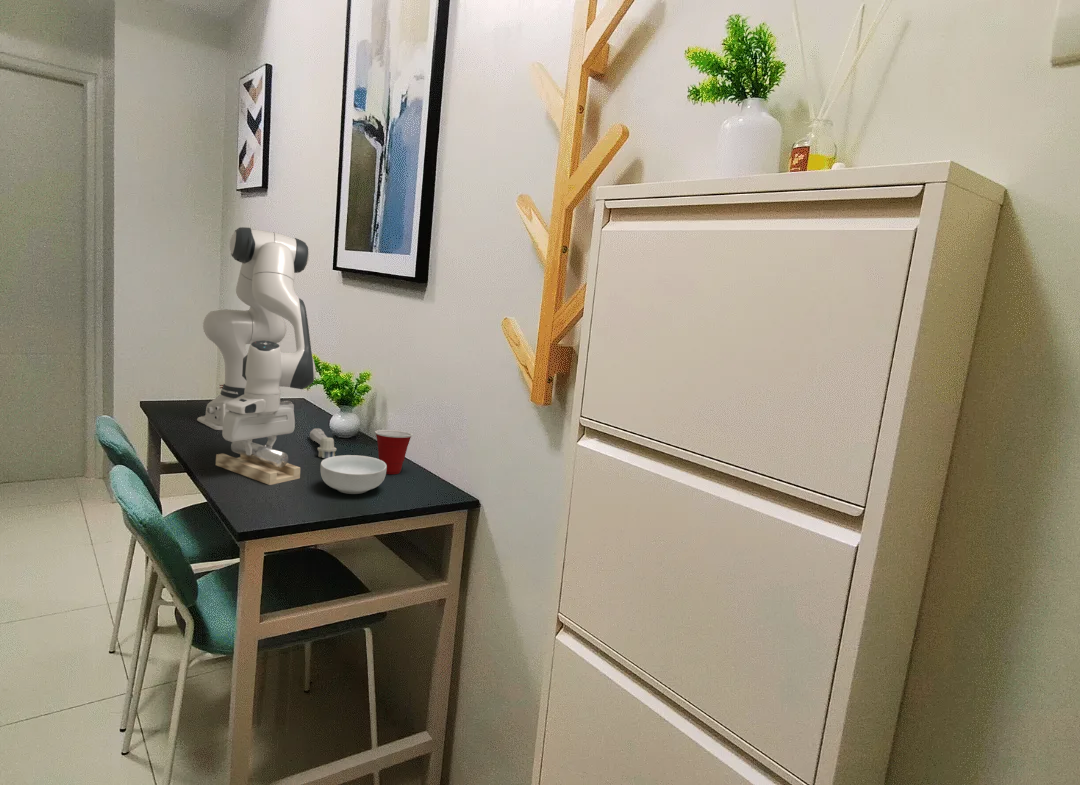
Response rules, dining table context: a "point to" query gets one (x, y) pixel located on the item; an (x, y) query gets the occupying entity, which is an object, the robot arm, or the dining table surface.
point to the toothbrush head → (323, 443)
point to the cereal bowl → (353, 473)
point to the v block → (258, 469)
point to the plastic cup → (392, 448)
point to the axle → (262, 453)
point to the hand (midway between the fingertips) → (259, 453)
